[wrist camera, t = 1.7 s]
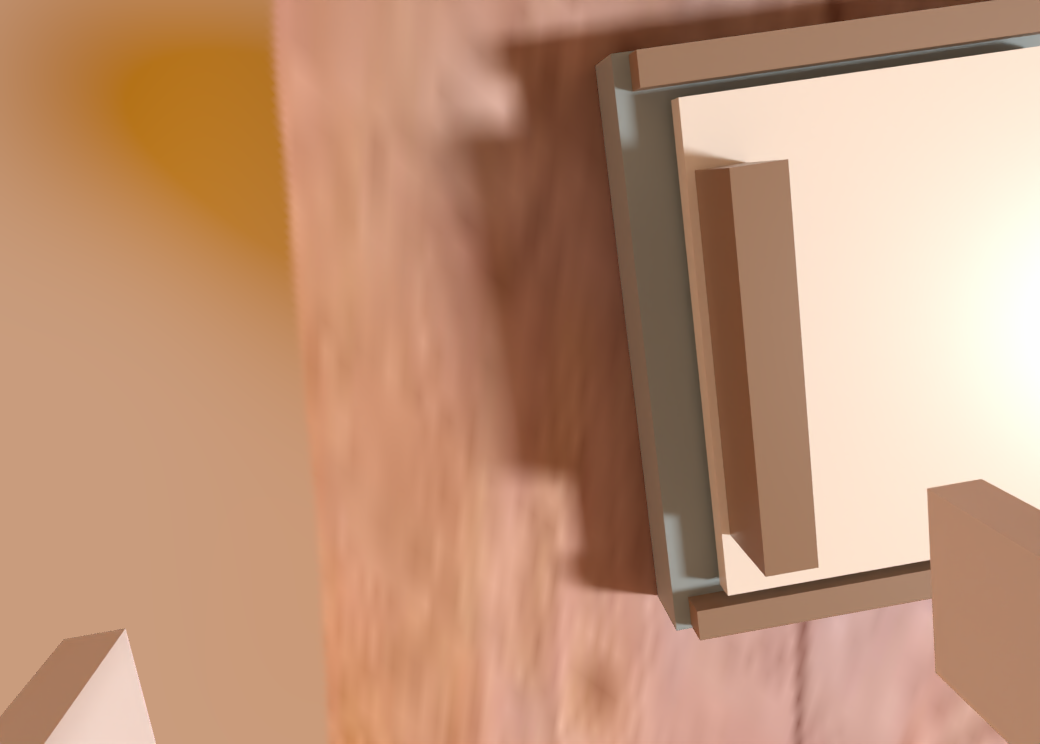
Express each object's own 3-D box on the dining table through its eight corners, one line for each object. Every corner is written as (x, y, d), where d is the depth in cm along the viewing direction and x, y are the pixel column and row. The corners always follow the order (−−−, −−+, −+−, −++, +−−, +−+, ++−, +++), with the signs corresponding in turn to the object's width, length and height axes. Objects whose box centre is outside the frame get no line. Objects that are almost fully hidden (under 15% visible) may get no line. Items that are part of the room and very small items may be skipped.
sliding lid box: (595, 65, 27) (617, 48, 24) (1316, -35, 29) (1435, -65, 25) (657, 595, 31) (685, 645, 28) (1290, 483, 33) (1390, 518, 29)
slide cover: (671, 100, 25) (711, 84, 21) (1039, 47, 26) (1141, 24, 22) (719, 584, 28) (762, 644, 25) (1046, 526, 29) (1136, 576, 25)
